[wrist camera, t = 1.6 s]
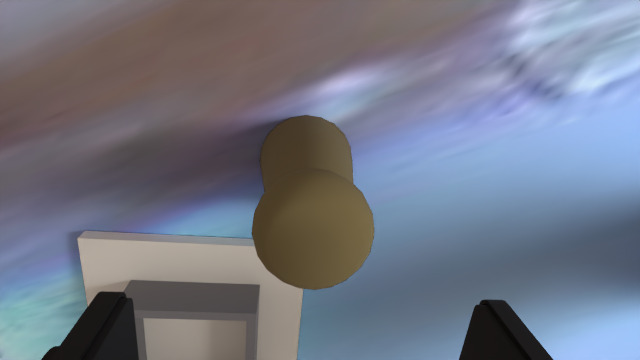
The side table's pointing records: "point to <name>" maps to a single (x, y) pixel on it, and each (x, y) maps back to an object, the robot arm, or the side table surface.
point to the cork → (310, 206)
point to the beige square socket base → (195, 295)
